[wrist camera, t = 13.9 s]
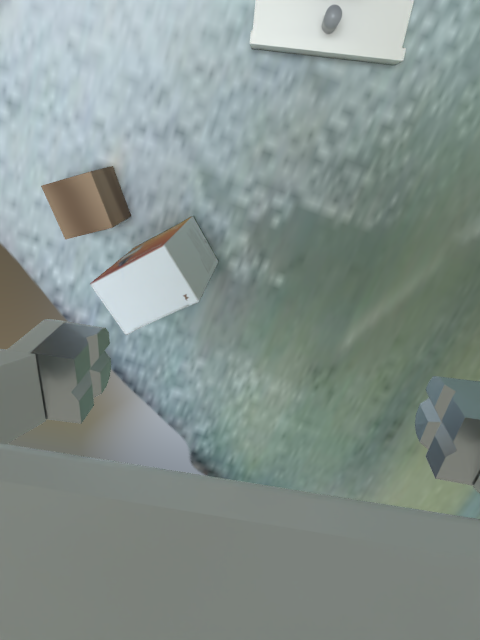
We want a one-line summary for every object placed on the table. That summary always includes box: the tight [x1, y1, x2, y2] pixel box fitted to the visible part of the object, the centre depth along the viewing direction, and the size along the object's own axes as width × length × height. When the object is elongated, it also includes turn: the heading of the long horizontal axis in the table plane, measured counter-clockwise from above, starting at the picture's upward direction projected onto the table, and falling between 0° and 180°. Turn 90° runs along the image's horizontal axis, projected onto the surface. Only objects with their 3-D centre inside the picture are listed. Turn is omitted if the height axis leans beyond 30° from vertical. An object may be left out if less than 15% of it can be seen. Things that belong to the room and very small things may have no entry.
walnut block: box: [41, 166, 131, 239], centre depth 37 cm, size 5×5×5 cm
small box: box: [90, 216, 218, 335], centre depth 37 cm, size 8×6×10 cm
